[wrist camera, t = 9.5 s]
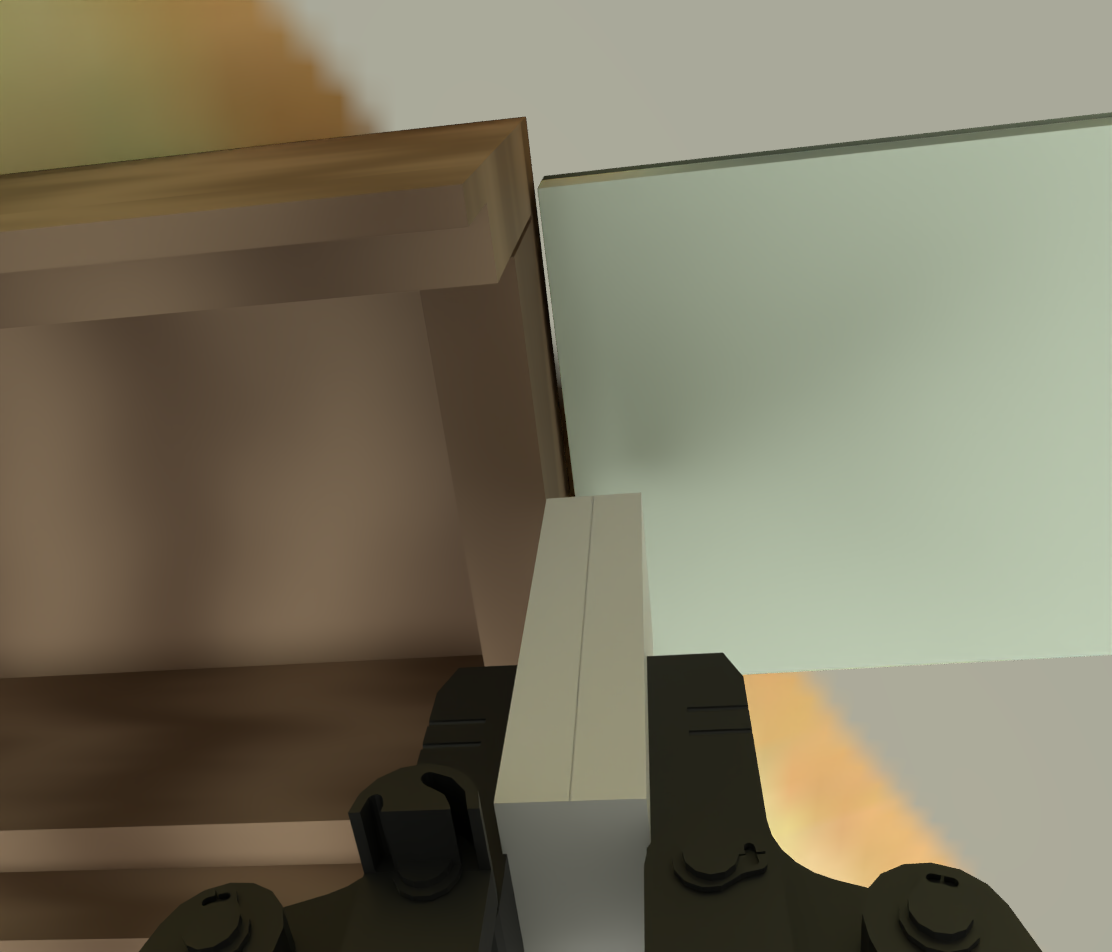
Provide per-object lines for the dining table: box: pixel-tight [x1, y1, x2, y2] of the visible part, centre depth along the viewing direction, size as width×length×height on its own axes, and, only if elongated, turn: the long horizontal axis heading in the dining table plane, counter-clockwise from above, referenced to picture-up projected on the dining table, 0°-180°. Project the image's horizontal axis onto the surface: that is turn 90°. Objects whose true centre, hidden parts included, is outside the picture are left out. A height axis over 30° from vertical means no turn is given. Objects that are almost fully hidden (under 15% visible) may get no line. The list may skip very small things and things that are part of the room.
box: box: [0, 117, 570, 952], centre depth 19 cm, size 18×13×8 cm
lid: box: [538, 112, 1112, 675], centre depth 20 cm, size 17×11×2 cm, turn 97°
